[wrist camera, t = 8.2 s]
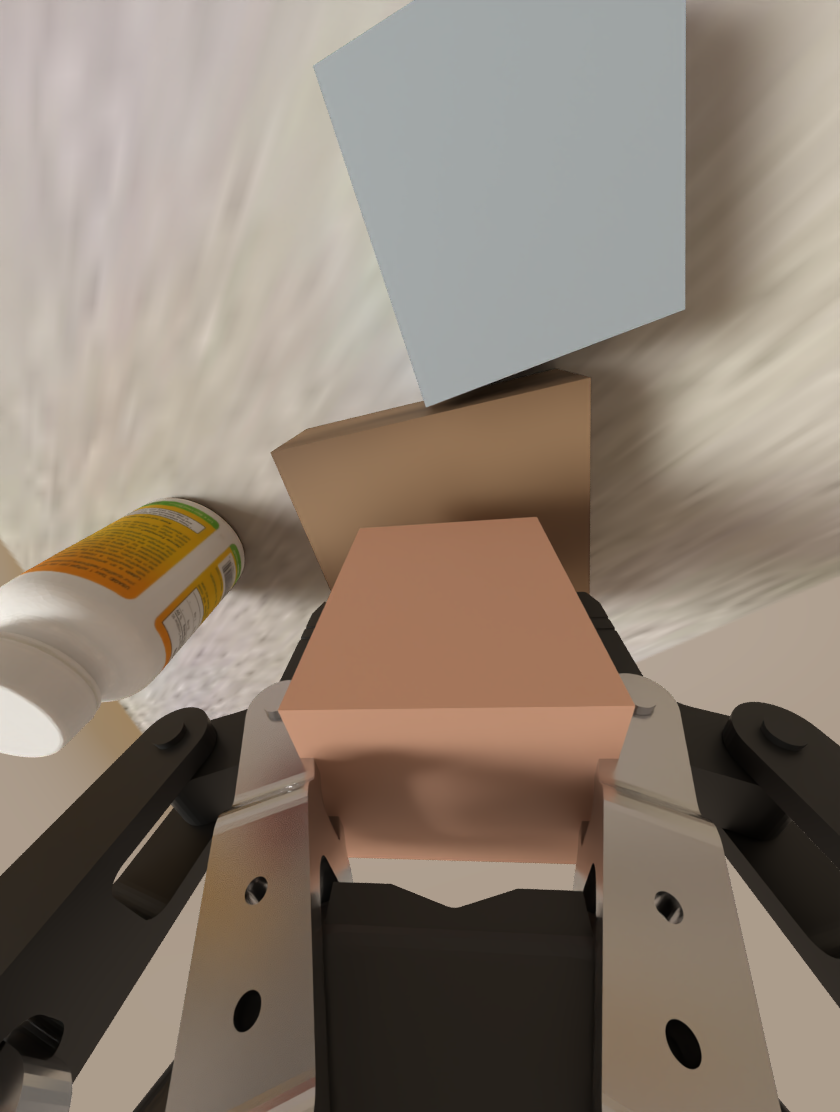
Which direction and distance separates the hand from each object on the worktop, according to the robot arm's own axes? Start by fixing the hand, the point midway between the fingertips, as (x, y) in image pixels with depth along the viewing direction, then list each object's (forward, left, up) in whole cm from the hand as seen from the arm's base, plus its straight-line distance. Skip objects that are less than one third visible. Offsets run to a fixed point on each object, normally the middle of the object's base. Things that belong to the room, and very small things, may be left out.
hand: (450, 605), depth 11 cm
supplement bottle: (+1, -13, -7) cm, 15 cm away
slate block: (-9, +2, -7) cm, 12 cm away
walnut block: (0, 0, -7) cm, 7 cm away
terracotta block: (0, 0, -1) cm, 1 cm away
